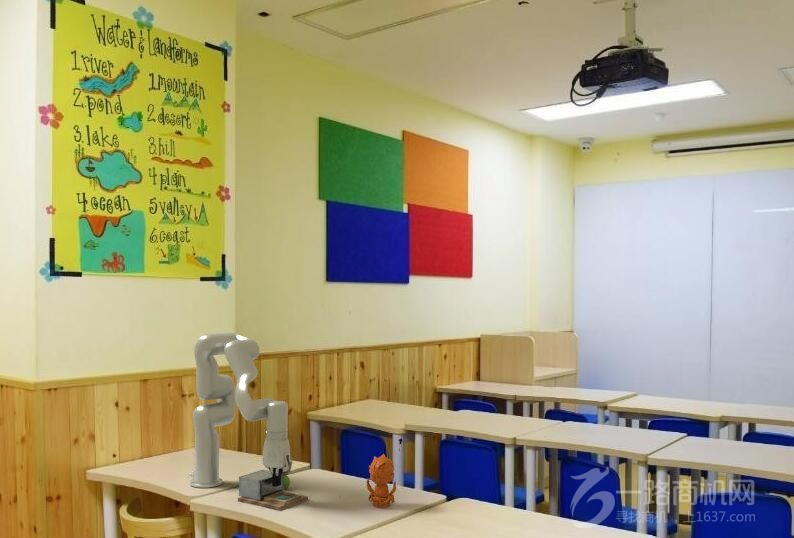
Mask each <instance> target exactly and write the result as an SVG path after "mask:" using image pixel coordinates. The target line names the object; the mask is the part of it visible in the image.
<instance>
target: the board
mask: <svg viewBox="0 0 794 538" xmlns="http://www.w3.org/2000/svg"><path fill="white" fill-rule="evenodd" d="M306 501H309V496H307V495H303V494H299V493H295V492H291V491H286V490H284V491H280V492H272V493H269V494H266V495H263V496H262V500H260V501H259V500H255V499H250V498H246V497H241V496H238V497H237V502H240V503H245V504H248V505H252V506H258V507H261V508H267V509H271V510H274V511H282V510H284V509H288V508H290V507H293V506H296V505H298V504H300V503H303V502H306Z"/></svg>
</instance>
